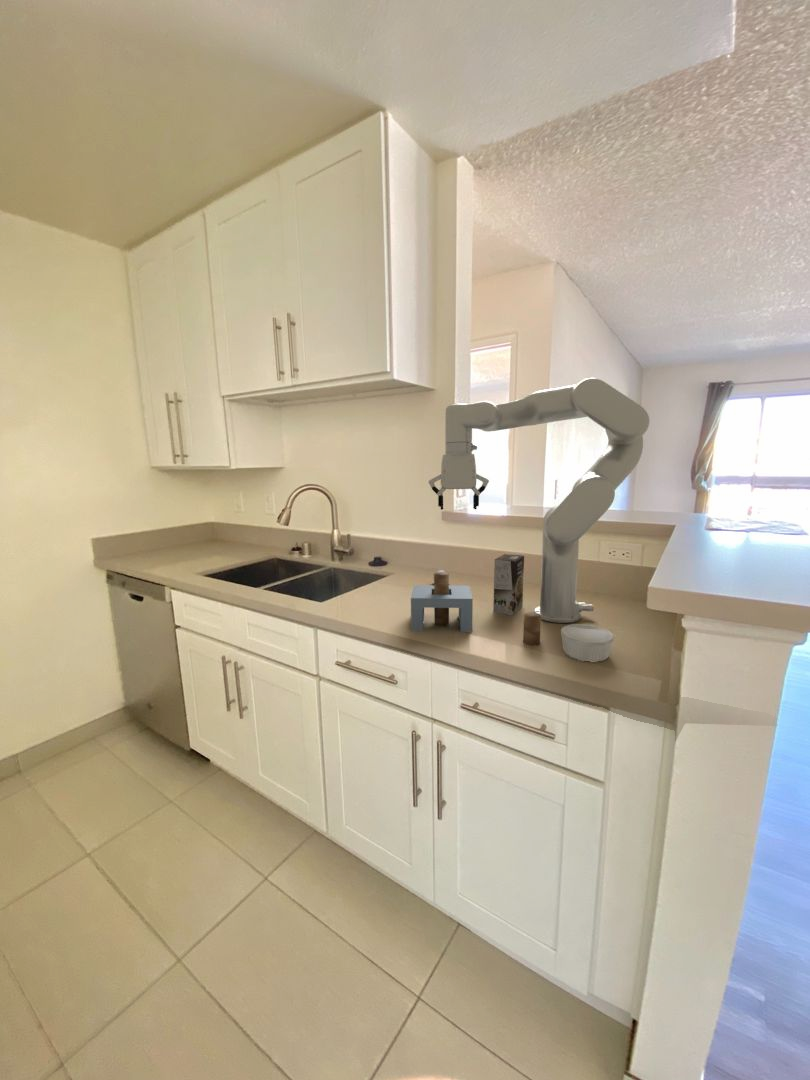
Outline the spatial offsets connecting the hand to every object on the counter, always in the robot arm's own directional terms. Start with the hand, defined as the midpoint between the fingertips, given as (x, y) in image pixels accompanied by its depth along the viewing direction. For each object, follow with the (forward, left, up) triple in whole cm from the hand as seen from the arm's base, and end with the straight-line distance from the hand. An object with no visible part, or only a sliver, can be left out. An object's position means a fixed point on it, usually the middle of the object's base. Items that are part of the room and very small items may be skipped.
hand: (458, 509), depth 127 cm
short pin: (-17, +25, -30) cm, 43 cm away
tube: (+5, -16, -31) cm, 35 cm away
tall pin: (+5, +13, -30) cm, 33 cm away
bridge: (+5, +13, -30) cm, 33 cm away
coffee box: (-15, +1, -31) cm, 34 cm away
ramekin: (-28, +31, -31) cm, 52 cm away
